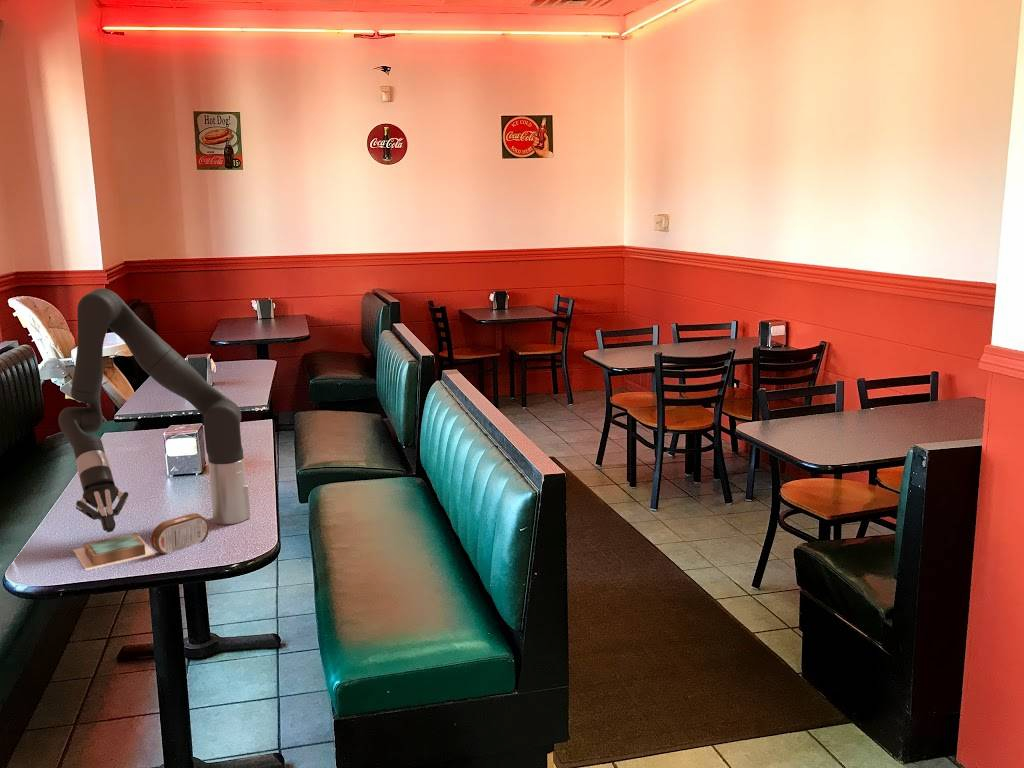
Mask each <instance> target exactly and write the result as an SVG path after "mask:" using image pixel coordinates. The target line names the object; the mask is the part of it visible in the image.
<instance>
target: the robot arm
mask: <svg viewBox="0 0 1024 768" xmlns="http://www.w3.org/2000/svg"><path fill="white" fill-rule="evenodd" d="M76 315H77V316H76V317H77V347H76V358H75V365H74V370H73V371H74V372H73V375H72V376H73V377H72V381H71V390H70V395H71V398H72V399H73V400H75V401H77V402H82V403H85V404H87V406H76V407H75V406H69V407H65V408H63V409H62V410H61V411H60V412H59V415H58V426H59V428H60V430H61V432H62V435H64V436H65V438H66V440H67V441H68V442H69V443H68V444H70V446H71V447H72V449H73V453H74V457H75V460H76V461H75V462H76V468H77V475H78V477H79V481H80V484H81V489H82V492H83V494H82V498H81V499H80V500H76V502H75V509H77V510H78V511H79V512H81V513H83V514H84V515H86V516H87V517H88V518H90V519H91V520H93V521H96V520H99V521H100V522H101V527H102V530H103V531H104V532H106V533H110V532H111V533H113V532H114V530H115V529H116V525H117V524H116V521H115V516H119V515H120V513H121V511H122V509H123V507H124V505H126V502H127V500H128V497H129V492H127V491H125V492H122V491H120V490H119V488H118V487H117V486H116V484H115V480H114V477H113V473H112V471H111V466H110V463H109V462H110V461H109V460H108V458H107V455H106V452H105V447H104V444H103V440H102V439H101V437H100V436H99V435H96V434H93V433H97V432H98V431H100V429H101V428H102V426H103V423H104V419H103V417H104V416H103V411H102V406H101V405H102V404H101V391H102V385H103V379H104V371H105V370H104V356H103V355H104V354H103V351H104V350H103V349H104V342H105V338H106V334H107V332H108V329H110V330H111V331H112V332H113V333H114V334H116V335H117V336H118V337H119V338H120V339H121V340H122V341H123V342H124V344H125V346H127V348H128V349H129V351H130V353H131V354H132V356H133V357H134V360H135V361H136V363H138V365H139V366H140V367H141V369H142V370H143V371H144V372H145V373H146V374H148V376H149V377H151V378H152V379H153V380H154V381H155V382H157V384H159V385H160V386H162V387H163V388H165V389H166V390H168V391H170V392H171V393H173V394H175V395H177V396H179V397H181V398H183V399H184V400H186V401H187V402H189V404H191V405H192V406H193V407H194V408H195V409H196V410H197V411H198V412H199V413H200V414H201V416H203V417H204V418H203V431H204V442H205V449H206V454H207V461H208V470H209V473H208V474H209V484H210V496H211V509H212V520H213V523H215V524H219V525H233V524H234V525H235V524H238V523H242V522H244V521H245V520H247V519H251V506H250V494H249V493H250V492H249V485H247V484H246V473H245V460H244V459H245V458H244V450H243V449H244V448H243V447H242V437H241V421H242V412H241V409H240V408H239V406H238V404H236V403H235V402H234V401H233V400H231V399H229V398H228V397H227V396H226V395H225V394H223V393H222V392H220V391H219V390H218V389H217V388H215V386H212V385H211V384H210V383H209V382H208V381H206V379H205V378H204V377H203V376H202V375H201V373H199V372H198V371H197V370H196V369H195V368H194V367H193V366H192V365H191V364H190V363H189V362H188V361H187V360H186V359H185V358H184V357H183V356H182V355H181V354H179V353H178V352H177V350H175V349H174V348H172V346H171V345H170V344H168V343H167V342H166V341H165V340H164V339H163V338H161V336H159V335H158V334H157V333H156V332H155V331H153V329H151V328H150V327H149V326H148V325H146V324H145V323H144V322H143V320H141V319H140V318H139V316H137V315H136V314H135V312H134V311H133V310H132V309H131V308H130V307H129V305H128V304H126V302H125V301H124V300H123V299H122V298H121V297H120V296H119V294H117V293H116V292H114V291H113V290H111V289H109V288H97V289H94V290H92V291H90V292H88V293H86V294H85V295H84V296H82V297H81V299H79V302H78V303H77V314H76ZM116 499H117V500H118V502H117V504H116V505H115V507H114V508H113V504H114V502H115V500H116ZM90 506H91V507H90ZM93 508H94V509H93Z"/></svg>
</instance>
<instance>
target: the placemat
mask: <svg viewBox="0 0 1024 768" xmlns="http://www.w3.org/2000/svg"><path fill="white" fill-rule="evenodd" d="M137 537H138V538H139V539H140V540H141V541H142V542H143V544H144V545H145V555H140V556H136V557H131V558H127V559H123V560H118V561H114V562H110V563H105V564H101V565H96V566H93V564H92V563H91V561H90V560H89V558H88V557H87V555H86V554H85V549H84V546H83V547H79V548H75V549H72V551H73V552H74V554H75V555H76V557H77V559H78V560H79V562H80V563H81V565H82V566H83V568H84V570H85V571H91V570H95V569H99V568H103V567H108V566H112V565H116V564H120V563H125V562H129V561H133V560H138V559H142V558H143V559H144V558H147V557H151V556H155V555H156V553H155V551H153V550H152V548H151V547H150V546H149V545H148V544H147V542H145V541H144V539H143V538H142V537H141V535H137Z"/></svg>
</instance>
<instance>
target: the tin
mask: <svg viewBox="0 0 1024 768" xmlns="http://www.w3.org/2000/svg"><path fill="white" fill-rule="evenodd" d="M209 530H210V525H209V521H208V520H207V519H206V518H205V517H204V516H202V515H201V514H199V513H196V512H193V513H188V514H185V515H182V516H178V517H175V518H172V519H171V518H170V519H168V520H165V521H162V522H161V523H159V524H158V525H157V526H156V527H154V529H153V530H152V533H151V537H150V544H151V547H152V548H153V550H154V551H156V552H157V553H161V554H162V555H168V554H170V553H174V552H176V551H179V550H183V549H185V548H189V547H192V546H194V545H197V544H200V543H204V541H205V540H206V539H207V537H208V535H209Z"/></svg>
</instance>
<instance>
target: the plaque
mask: <svg viewBox="0 0 1024 768" xmlns="http://www.w3.org/2000/svg"><path fill="white" fill-rule="evenodd" d="M137 536H138V535H137V534H136V533H135V532H134V533H128V534H125V535H119V536H115V537H111V538H105V539H99V540H96V541H91V542H86V543H84V544H83V547H84V549H85V554H86V555H87V557H88V558H89V560H90V561H91V563H92V564H93V566H96V565H101V564H105V563H110V562H114V561H118V560H123V559H127V558H131V557H136V556H140V555H145V545H144V544H143V542H142V541H141V540H140V539H139V538H138V537H137Z"/></svg>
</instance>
